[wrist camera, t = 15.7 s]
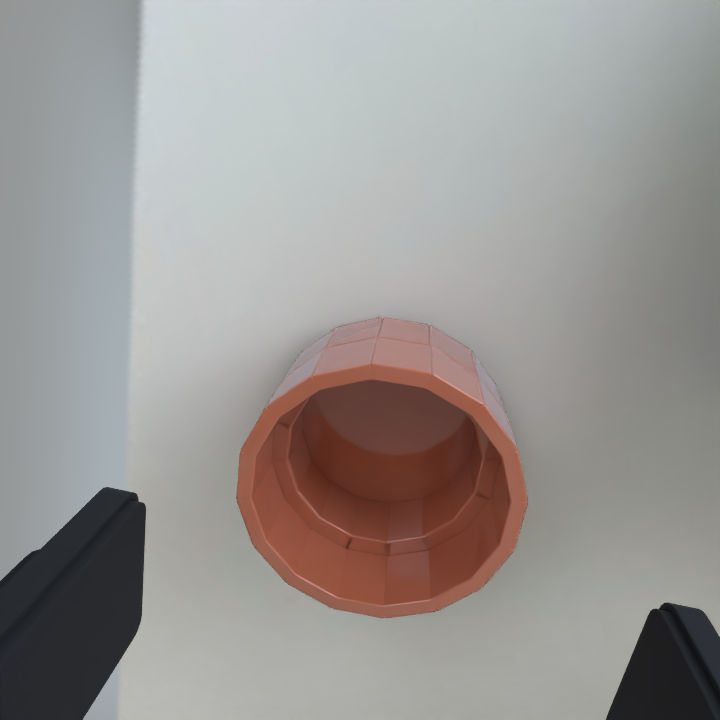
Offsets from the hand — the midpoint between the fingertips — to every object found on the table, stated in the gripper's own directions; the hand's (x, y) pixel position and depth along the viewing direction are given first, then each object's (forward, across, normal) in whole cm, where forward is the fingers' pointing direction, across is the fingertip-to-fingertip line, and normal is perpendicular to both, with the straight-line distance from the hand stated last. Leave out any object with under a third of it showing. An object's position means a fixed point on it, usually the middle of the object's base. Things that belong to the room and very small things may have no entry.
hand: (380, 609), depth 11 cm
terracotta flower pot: (+8, 0, 0) cm, 8 cm away
